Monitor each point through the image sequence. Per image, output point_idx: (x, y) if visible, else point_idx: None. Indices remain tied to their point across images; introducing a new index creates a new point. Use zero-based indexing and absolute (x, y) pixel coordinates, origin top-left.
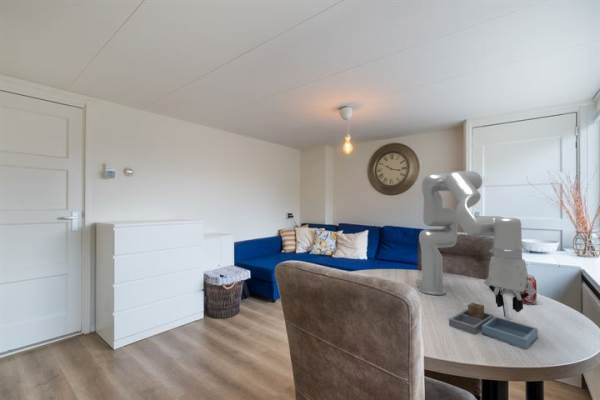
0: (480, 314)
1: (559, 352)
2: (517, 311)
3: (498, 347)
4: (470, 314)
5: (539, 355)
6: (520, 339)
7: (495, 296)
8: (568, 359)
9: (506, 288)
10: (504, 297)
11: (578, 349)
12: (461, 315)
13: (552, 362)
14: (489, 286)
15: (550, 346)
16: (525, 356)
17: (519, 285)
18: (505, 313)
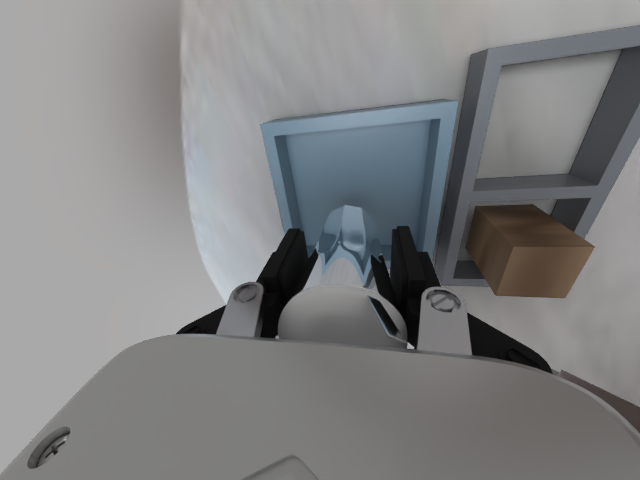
0: (492, 234)
1: (226, 195)
2: (291, 228)
3: (342, 15)
4: (540, 220)
5: (234, 113)
6: (282, 121)
7: (439, 285)
8: (193, 168)
9: (304, 344)
10: (357, 274)
11: (221, 253)
12: (589, 183)
13: (191, 95)
14: (551, 373)
15: (256, 216)
16: (247, 45)
17: (84, 423)
18: (360, 216)
